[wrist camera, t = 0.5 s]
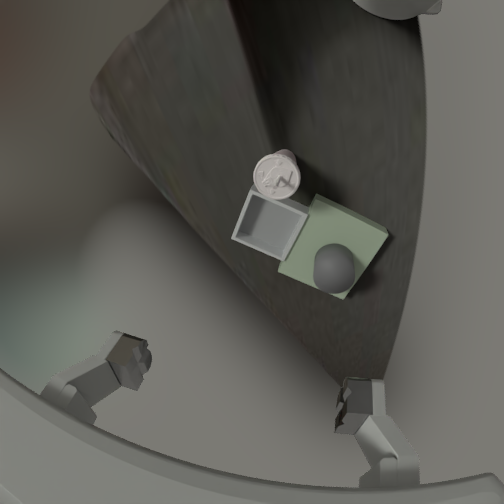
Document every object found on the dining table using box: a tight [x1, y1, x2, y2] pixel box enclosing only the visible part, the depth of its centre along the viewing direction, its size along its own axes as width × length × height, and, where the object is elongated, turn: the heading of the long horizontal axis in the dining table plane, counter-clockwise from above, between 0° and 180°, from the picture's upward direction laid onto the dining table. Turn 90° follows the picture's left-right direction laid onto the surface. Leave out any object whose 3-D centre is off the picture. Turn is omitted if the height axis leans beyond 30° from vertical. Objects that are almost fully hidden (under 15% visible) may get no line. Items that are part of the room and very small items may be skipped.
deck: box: [231, 184, 388, 299], centre depth 51 cm, size 16×24×8 cm, turn 70°
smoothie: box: [253, 150, 301, 200], centre depth 42 cm, size 6×6×14 cm
